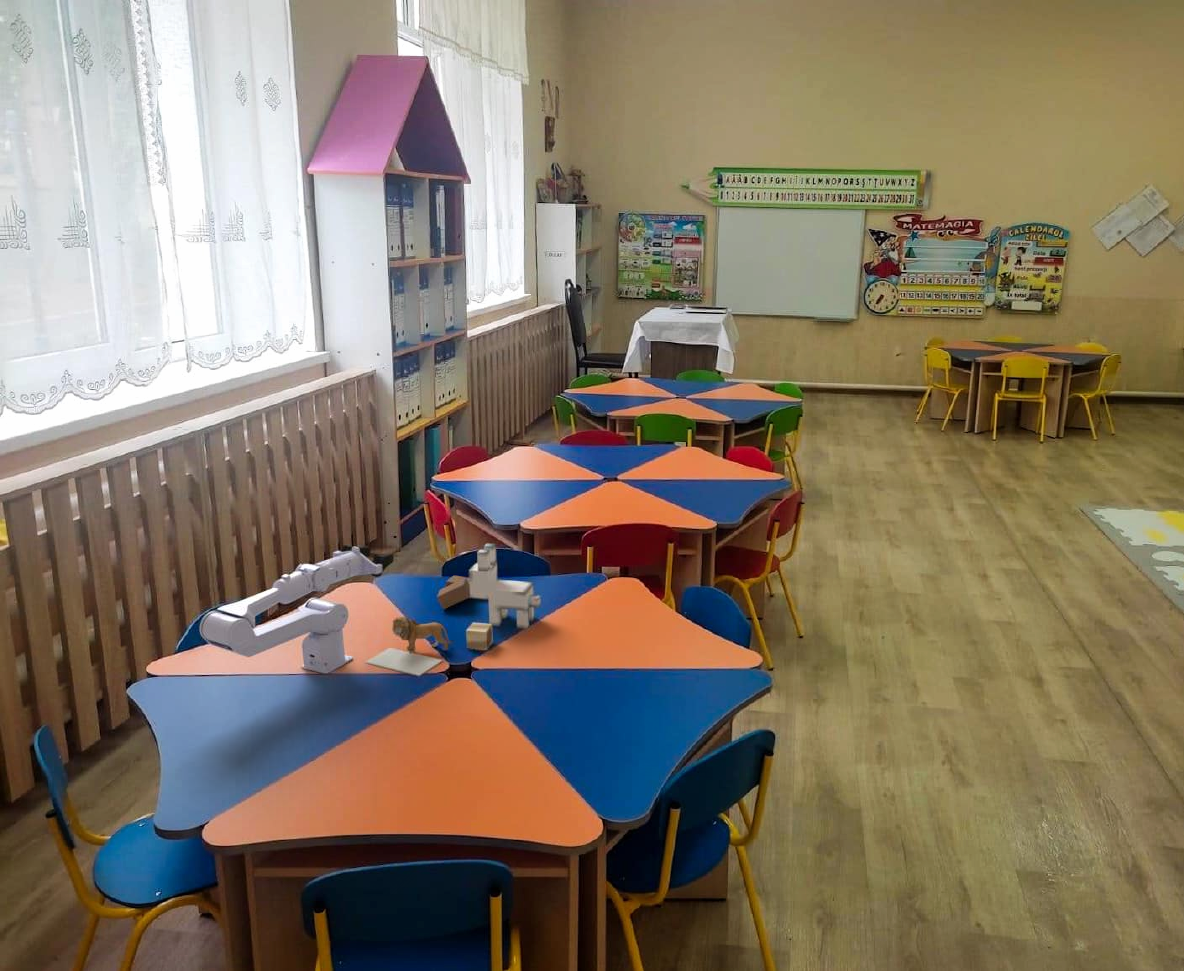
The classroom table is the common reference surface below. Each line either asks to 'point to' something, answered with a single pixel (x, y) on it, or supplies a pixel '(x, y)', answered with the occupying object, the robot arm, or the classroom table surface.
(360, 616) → the classroom table surface
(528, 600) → the toy llama
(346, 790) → the classroom table surface
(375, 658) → the felt mat
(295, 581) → the robot arm
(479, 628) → the tan cube
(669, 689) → the classroom table surface
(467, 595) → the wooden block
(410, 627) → the lion figurine
